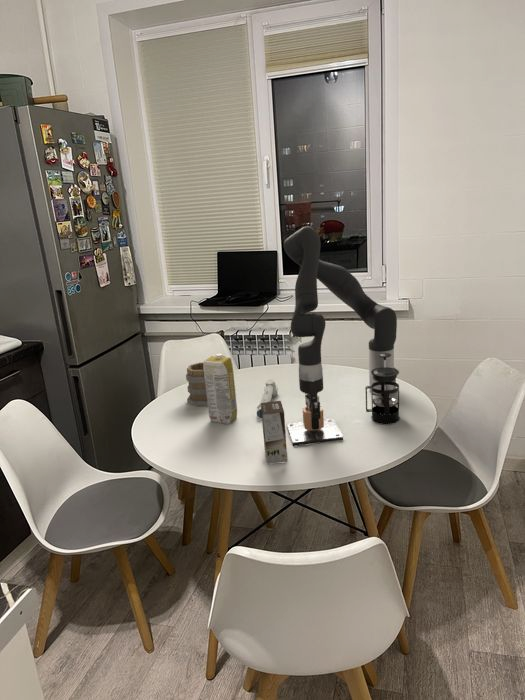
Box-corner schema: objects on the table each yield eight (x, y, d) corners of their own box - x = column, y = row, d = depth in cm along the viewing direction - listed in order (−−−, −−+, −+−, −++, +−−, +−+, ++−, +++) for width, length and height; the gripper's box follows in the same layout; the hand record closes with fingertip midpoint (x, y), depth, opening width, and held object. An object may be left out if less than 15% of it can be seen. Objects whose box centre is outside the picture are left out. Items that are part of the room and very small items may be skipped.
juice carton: (240, 416, 187) (234, 352, 180) (230, 425, 180) (223, 360, 173) (217, 413, 191) (210, 351, 184) (206, 422, 184) (199, 358, 177)
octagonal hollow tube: (302, 423, 171) (301, 404, 170) (321, 421, 172) (320, 402, 170) (306, 431, 165) (304, 412, 163) (325, 429, 166) (324, 410, 164)
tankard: (199, 408, 197) (195, 371, 192) (182, 400, 206) (177, 364, 202) (241, 393, 208) (238, 358, 204) (223, 386, 218) (220, 352, 213)
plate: (333, 421, 177) (332, 404, 175) (343, 440, 163) (342, 422, 161) (286, 427, 176) (285, 410, 174) (292, 446, 162) (291, 427, 160)
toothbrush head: (254, 409, 183) (264, 375, 205) (256, 425, 186) (266, 390, 208) (268, 409, 182) (277, 375, 204) (270, 425, 185) (279, 390, 207)
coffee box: (288, 462, 153) (284, 412, 148) (266, 464, 152) (262, 414, 148) (284, 447, 162) (281, 400, 157) (264, 450, 161) (259, 402, 157)
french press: (399, 412, 180) (399, 349, 173) (403, 424, 171) (403, 357, 164) (365, 413, 181) (363, 350, 174) (367, 425, 172) (365, 359, 166)
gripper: (295, 369, 170) (298, 416, 175) (302, 385, 156) (306, 435, 161) (318, 367, 171) (320, 414, 176) (327, 382, 157) (329, 432, 162)
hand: (313, 424), depth 168 cm, fingers closed on octagonal hollow tube, 6 cm apart
